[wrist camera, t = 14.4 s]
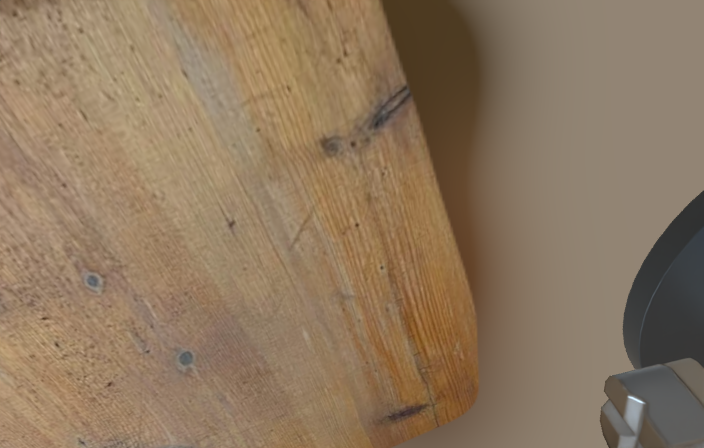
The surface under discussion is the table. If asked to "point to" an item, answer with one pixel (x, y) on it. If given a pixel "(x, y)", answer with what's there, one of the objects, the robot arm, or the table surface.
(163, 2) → the table surface
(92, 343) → the table surface
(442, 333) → the table surface
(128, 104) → the table surface
